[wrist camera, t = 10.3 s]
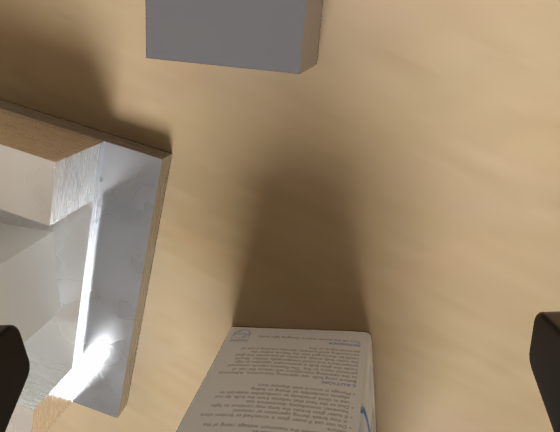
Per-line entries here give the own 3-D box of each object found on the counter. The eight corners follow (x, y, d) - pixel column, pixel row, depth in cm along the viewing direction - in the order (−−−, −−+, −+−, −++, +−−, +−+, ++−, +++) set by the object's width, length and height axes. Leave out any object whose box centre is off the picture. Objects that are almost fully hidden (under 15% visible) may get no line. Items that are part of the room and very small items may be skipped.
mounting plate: (171, 153, 22) (121, 183, 18) (126, 404, 27) (80, 471, 23) (-42, 86, 23) (-135, 100, 19) (-45, 342, 28) (-118, 395, 24)
